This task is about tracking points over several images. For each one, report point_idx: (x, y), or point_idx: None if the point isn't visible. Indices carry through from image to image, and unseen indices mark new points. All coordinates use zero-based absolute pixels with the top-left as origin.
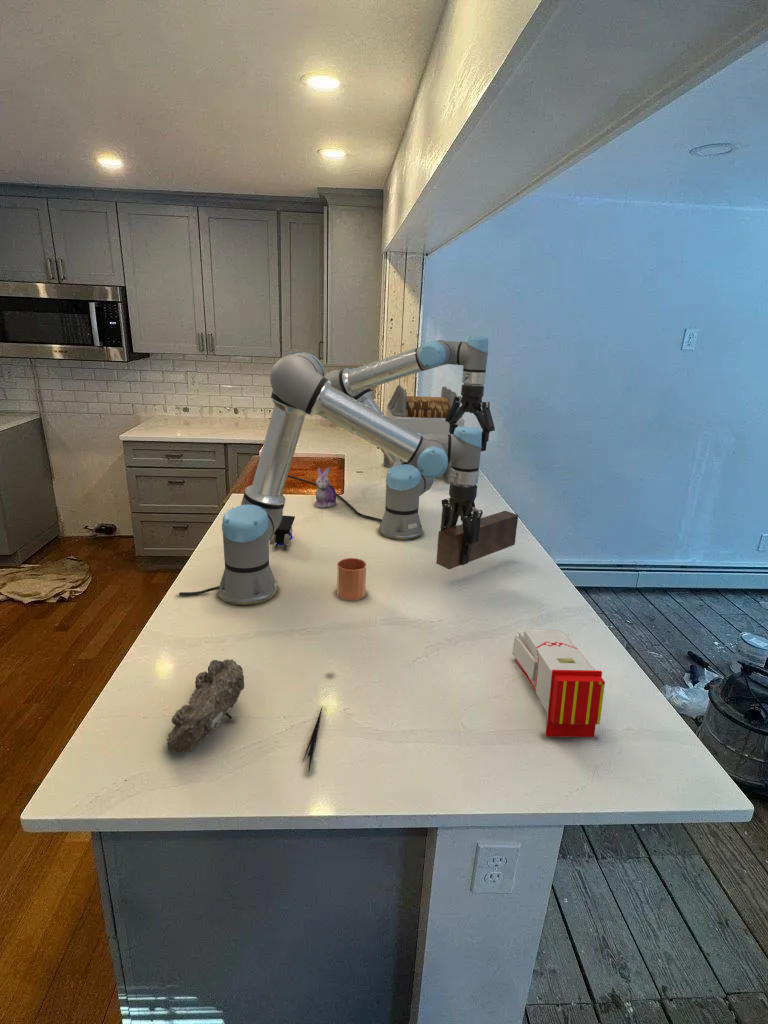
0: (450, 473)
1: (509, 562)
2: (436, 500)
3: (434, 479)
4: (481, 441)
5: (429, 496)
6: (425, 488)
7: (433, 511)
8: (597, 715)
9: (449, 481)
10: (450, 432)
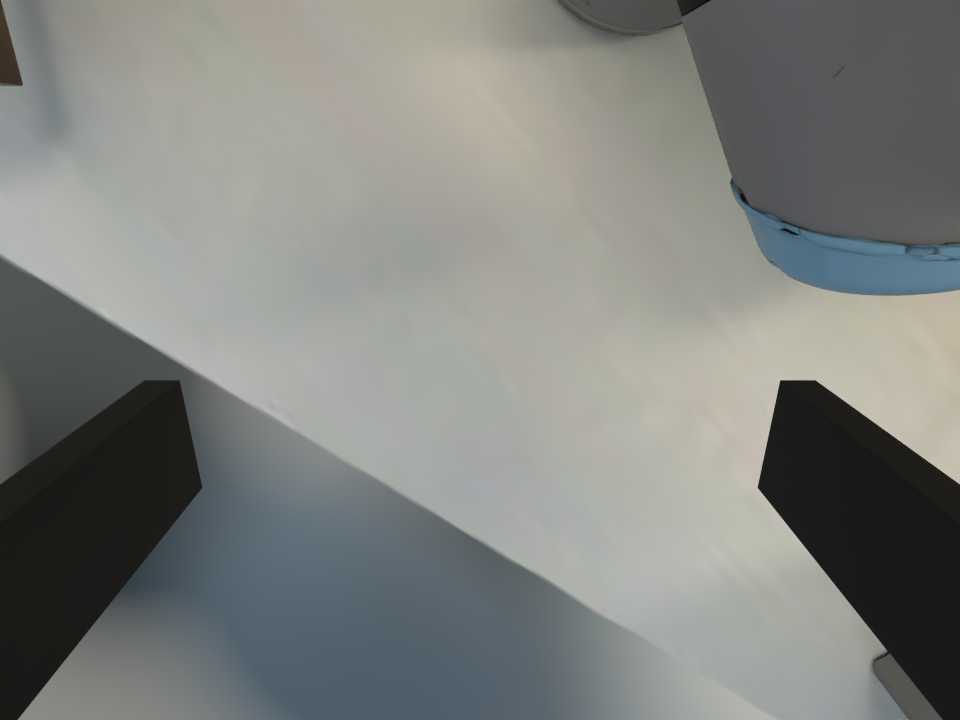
0: None
1: (50, 104)
2: None
3: (763, 251)
4: (32, 468)
5: None
6: (685, 26)
7: (728, 306)
8: None
9: None
10: (948, 480)
